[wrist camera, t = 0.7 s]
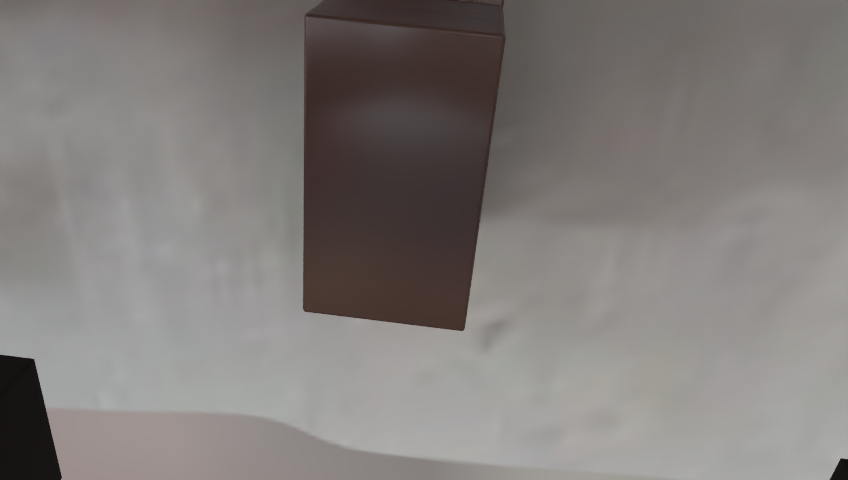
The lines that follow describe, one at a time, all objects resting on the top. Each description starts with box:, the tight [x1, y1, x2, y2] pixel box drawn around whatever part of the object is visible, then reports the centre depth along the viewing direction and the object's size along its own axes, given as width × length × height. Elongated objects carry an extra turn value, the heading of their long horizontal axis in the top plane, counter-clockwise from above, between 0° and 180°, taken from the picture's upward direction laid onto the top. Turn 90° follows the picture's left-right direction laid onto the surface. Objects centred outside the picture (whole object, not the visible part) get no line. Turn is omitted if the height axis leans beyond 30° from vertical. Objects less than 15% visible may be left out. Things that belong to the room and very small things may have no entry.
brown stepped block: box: [303, 0, 505, 331], centre depth 20 cm, size 12×4×8 cm, turn 175°
